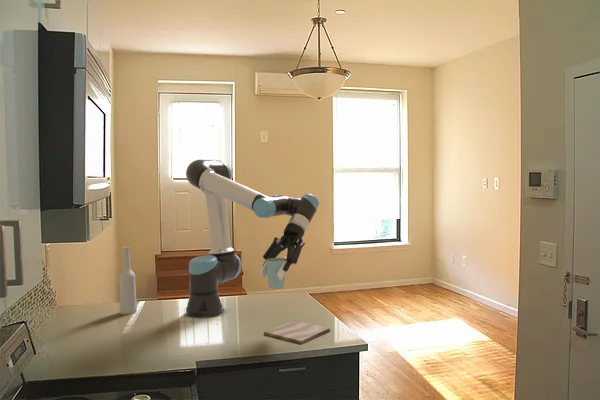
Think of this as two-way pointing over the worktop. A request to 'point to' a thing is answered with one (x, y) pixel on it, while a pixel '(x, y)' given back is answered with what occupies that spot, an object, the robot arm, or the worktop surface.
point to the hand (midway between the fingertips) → (270, 276)
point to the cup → (274, 272)
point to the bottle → (127, 286)
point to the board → (297, 331)
